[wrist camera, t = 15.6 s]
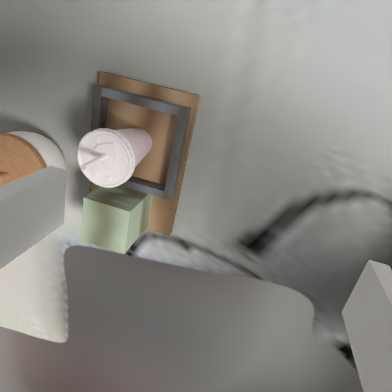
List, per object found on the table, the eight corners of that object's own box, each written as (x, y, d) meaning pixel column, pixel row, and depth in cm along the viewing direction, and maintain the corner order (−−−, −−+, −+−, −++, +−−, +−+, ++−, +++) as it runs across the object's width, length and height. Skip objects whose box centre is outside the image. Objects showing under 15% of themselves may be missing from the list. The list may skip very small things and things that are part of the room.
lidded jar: (39, 201, 51) (-8, 227, 43) (3, 139, 48) (-54, 154, 40) (91, 181, 48) (52, 205, 39) (56, 113, 45) (5, 123, 36)
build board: (200, 95, 39) (180, 101, 31) (171, 231, 47) (149, 266, 39) (104, 71, 41) (61, 71, 33) (92, 207, 49) (55, 235, 41)
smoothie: (171, 138, 41) (124, 168, 28) (145, 174, 44) (92, 216, 31) (132, 106, 41) (67, 122, 28) (108, 144, 43) (39, 174, 31)
